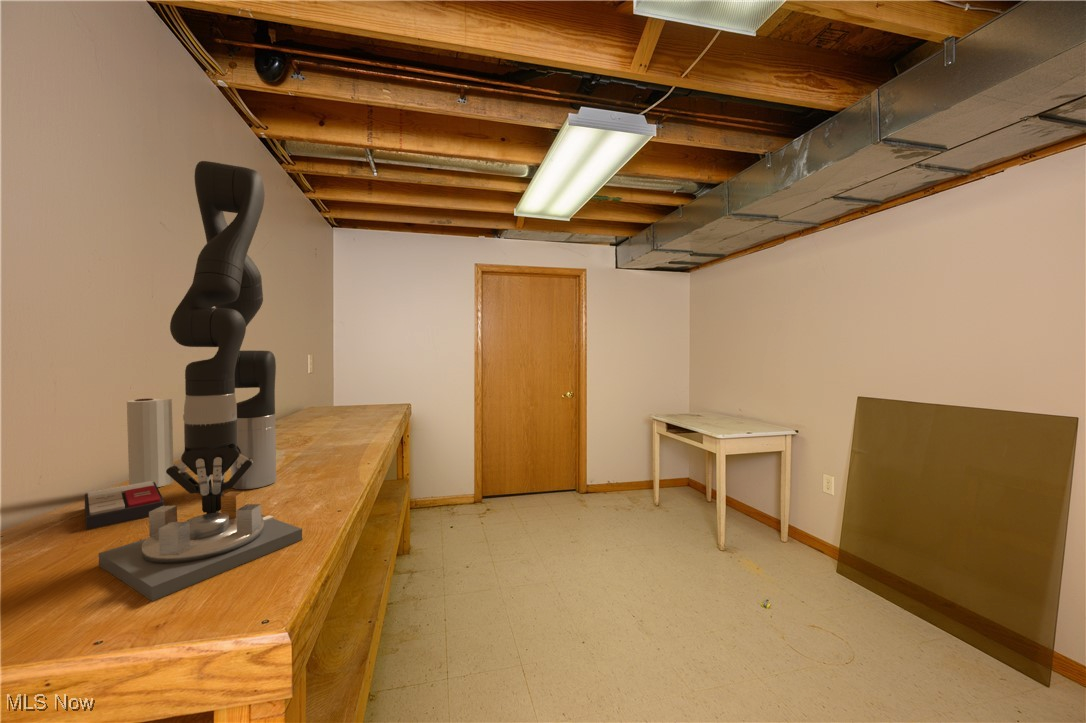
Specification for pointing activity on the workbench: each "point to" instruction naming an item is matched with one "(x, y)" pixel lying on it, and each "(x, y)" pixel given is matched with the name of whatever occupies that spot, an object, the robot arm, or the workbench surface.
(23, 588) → the workbench surface
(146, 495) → the calculator
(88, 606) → the workbench surface
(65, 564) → the workbench surface
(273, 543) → the base plate
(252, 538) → the lugged metal dish
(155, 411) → the paper towel roll
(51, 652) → the workbench surface
